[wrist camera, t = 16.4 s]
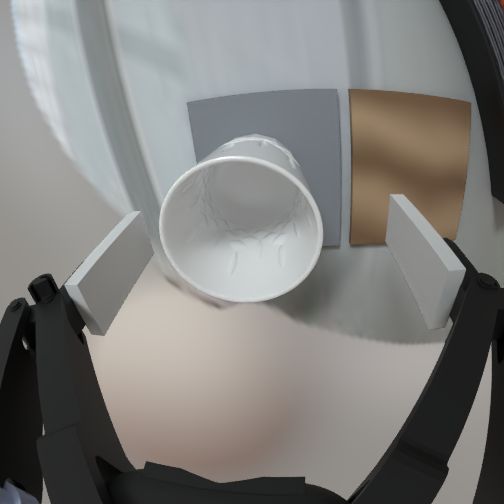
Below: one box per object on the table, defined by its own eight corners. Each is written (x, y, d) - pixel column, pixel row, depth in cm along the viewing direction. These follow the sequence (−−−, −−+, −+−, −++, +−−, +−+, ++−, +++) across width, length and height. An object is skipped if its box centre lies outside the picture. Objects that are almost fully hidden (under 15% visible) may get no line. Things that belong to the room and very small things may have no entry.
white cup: (230, 108, 20) (192, 126, 11) (325, 156, 21) (356, 209, 13) (190, 196, 24) (142, 265, 15) (276, 236, 25) (272, 322, 17)
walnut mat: (348, 89, 18) (350, 89, 18) (467, 101, 17) (471, 102, 17) (349, 241, 25) (350, 244, 25) (452, 236, 24) (455, 239, 23)
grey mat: (189, 102, 20) (186, 102, 20) (335, 88, 19) (336, 88, 18) (215, 248, 27) (213, 251, 26) (338, 241, 25) (339, 245, 25)
